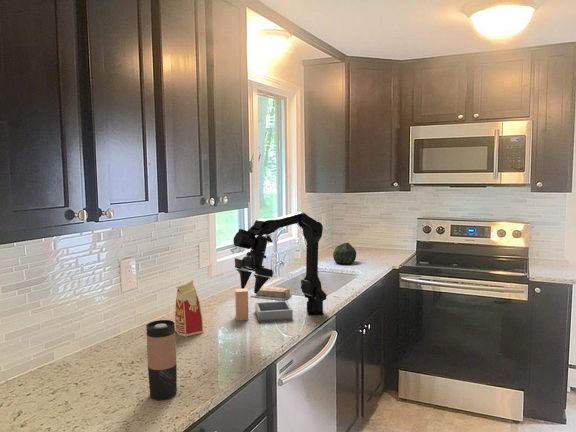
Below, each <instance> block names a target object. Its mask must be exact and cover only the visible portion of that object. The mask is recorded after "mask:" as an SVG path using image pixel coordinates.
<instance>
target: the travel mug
mask: <svg viewBox="0 0 576 432" xmlns="http://www.w3.org/2000/svg"><path fill="white" fill-rule="evenodd" d="M145 328H146V350H147V351H146V352H147V372H148V373H147V374H148V385H149V386H148V388H149V397H150V398H151V399H152V400H153V401H166V400H170V399H172V398H174V397H176V395H177V393H178V392H177V390H178V389H177V388H178V387H177V386H178V384H177V382H178V381H177V379H178V378H177V377H178V373H177V372H178V371H177V369H178V368H177V347H176V330H175V321H173V320H170V319H158V320H154V321H150V322H148V323H147V324H146V327H145Z"/></svg>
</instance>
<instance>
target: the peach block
mask: <svg viewBox="0 0 576 432" xmlns="http://www.w3.org/2000/svg"><path fill="white" fill-rule="evenodd" d="M234 296H235V297H234V298H235V299H234V300H235V301H234V302H235V319H236V321H249V319H250V317H249V290H248V288H247V287H246V288H244V289H242V288H235V289H234Z"/></svg>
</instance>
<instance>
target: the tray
mask: <svg viewBox="0 0 576 432" xmlns="http://www.w3.org/2000/svg"><path fill="white" fill-rule="evenodd" d="M254 310H255V316H256V318H257V320H258V322H259V323H262V322H263V323H264V322H274V321H275V322H277V321H289V320H294V319H293V317H294V316H293V315H294V314H293V309H292V307H291V306H290V303H289V302H288V301H287V300H276V301H265V302H264V301H263V302H255V303H254Z"/></svg>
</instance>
